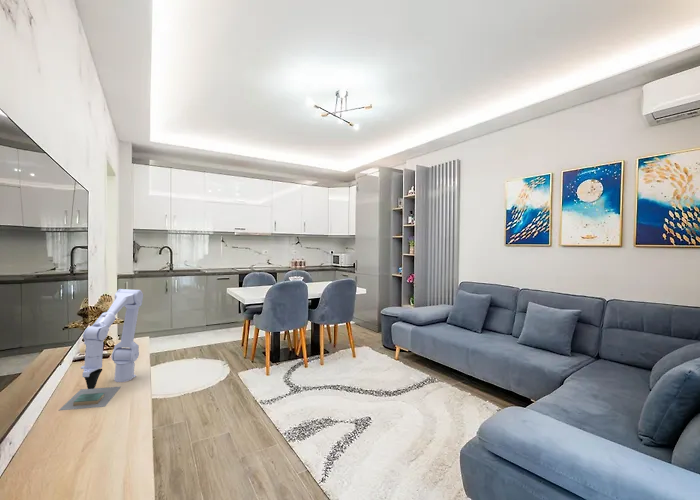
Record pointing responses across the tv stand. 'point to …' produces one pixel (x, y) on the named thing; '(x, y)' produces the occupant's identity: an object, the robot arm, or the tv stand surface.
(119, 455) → the tv stand surface
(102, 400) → the mat
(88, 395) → the tile
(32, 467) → the tv stand surface
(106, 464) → the tv stand surface
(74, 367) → the tv stand surface
